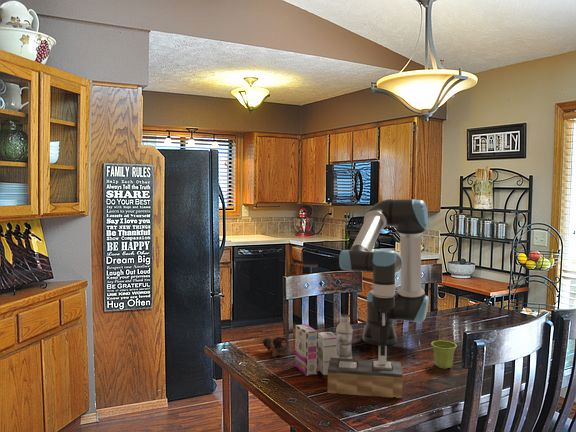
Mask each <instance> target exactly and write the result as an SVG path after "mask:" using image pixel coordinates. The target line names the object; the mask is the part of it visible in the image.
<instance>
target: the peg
mask: <svg viewBox="0 0 576 432" xmlns="http://www.w3.org/2000/svg"><path fill="white" fill-rule="evenodd" d="M387 361H388V360H386V365H384V364H378V361H373V370H385V371H392V366H391V362H387Z"/></svg>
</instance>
